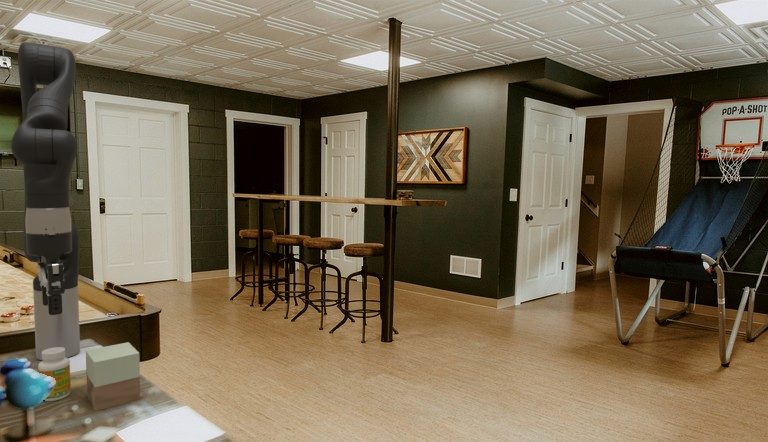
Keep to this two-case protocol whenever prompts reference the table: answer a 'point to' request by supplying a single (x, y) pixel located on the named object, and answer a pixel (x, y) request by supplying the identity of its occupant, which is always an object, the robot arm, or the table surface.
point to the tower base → (113, 393)
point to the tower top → (112, 364)
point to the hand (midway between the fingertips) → (52, 309)
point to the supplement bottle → (56, 371)
